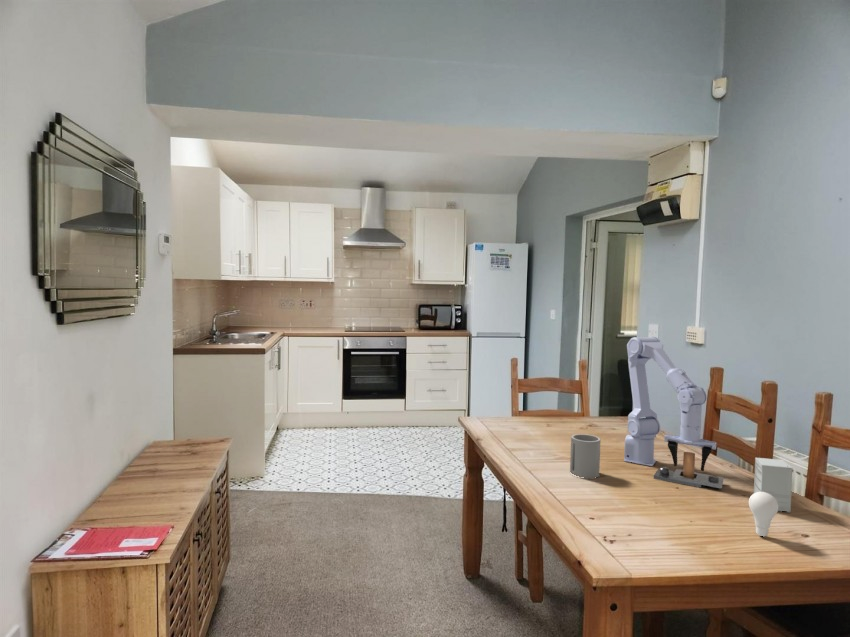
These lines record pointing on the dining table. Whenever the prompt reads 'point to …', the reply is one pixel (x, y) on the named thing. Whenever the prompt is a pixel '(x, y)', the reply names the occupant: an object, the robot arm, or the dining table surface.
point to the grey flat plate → (688, 478)
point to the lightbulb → (763, 511)
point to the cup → (585, 455)
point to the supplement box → (774, 480)
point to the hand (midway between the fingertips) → (688, 467)
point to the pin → (688, 464)
